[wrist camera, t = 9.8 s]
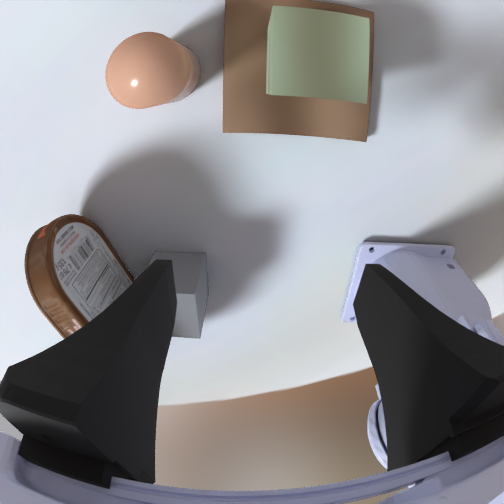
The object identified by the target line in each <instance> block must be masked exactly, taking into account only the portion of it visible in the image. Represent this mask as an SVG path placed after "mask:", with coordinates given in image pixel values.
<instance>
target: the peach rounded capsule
mask: <svg viewBox="0 0 504 504" xmlns="http://www.w3.org/2000/svg"><path fill="white" fill-rule="evenodd" d="M200 73H201V69H200V63H199V60H198V58H197V57H196V55H195V54H194V53H193V52H192V51H191V50H190V49H188V48H186V47H185V46H183V45H181V44H179V43H177V42H176V41H174V40H172V39H170V38H168V37H166V36H164V35H162V34H159V33H155V32H143V33H138V34H135V35H133V36H131V37H129V38H127V39H125V40H124V41H123V42H121V43H120V44H119V45H118V46H117V47H116V48H115V50H114V51H113V53H112V54H111V56H110V58H109V60H108V63H107V67H106V84H107V87H108V90H109V92H110V94H111V95H112V96H113V98H114V99H115V100H116V101H118V102H119V103H120V104H122V105H124V106H126V107H129V108H135V109H143V108H148V107H153V106H158V105H162V104H167V103H172V102H176V101H179V100H182V99H183V98H185V97H187V96H188V95H189V94H190V93H191V92H192V91H193V90H194V89H195V87H196V86H197V84H198V82H199V79H200Z"/></svg>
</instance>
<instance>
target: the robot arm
mask: <svg viewBox="0 0 504 504" xmlns="http://www.w3.org/2000/svg"><path fill="white" fill-rule="evenodd" d="M371 247H374V248H373V249H372V250H369V249H370V248H371ZM442 250H443V251H442ZM441 251H442V252H441ZM455 251H456V250H455V248H454V247H453V246H451V245H432V244H410V243H387V242H363V243H361V244H360V246H359V249H358V253H357V258H356V262H355V266H354V271H353V275H352V279H351V283H350V287H349V291H348V294H347V298H346V302H345V306H344V309H343V313H342V321H343V322H357V324H358V328H359V330H360V333H361V336H362V338H363V341H364V344H365V346H366V349H367V352H368V354H369V357H370V360H371V363H372V365H373V368H374V371H375V374H376V378H377V381H378V384H377V385H376V386H375V387H376V390H377V394H378V397H379V400H378V401H376V402H375V403H374V404H373V405H372V406H371V408H370V410H369V415H368V427H367V428H368V437H369V442H370V445H371V447H372V450H373V452H374V454H375V456H376V457H377V459H378V460H379V462H380V463H381V464H382V465H383V466H384V467H385V468H386V469H387V472H384V473H380V474H376V475H372V476H368V477H364V478H359V479H354V480H349V481H343V482H338V483H332V484H326V485H319V486H311V487H303V488H293V489H281V490H262V491H218V490H199V489H187V488H177V487H169V486H161V485H154V484H153V483H155V436H156V420H157V407H158V398H159V389H160V383H161V377H162V373H163V369H164V365H165V361H166V357H167V353H168V349H169V345H170V341H171V337H172V333H173V329H174V324H175V317H176V310H177V296H176V289H175V281H174V273H173V265H172V260H163V259H156V260H155V261H154V262H153V263H152V264H150V265H149V266H148V268H147V269H146V270H145V271H144V272H143V273H142V274H141V275H140V276H139V277H138V278H137V279H136V280H135V281H134V282H133V283H132V284H131V285H130V286H129V287H128V288H127V289H126V290H125V291H124V292H123V293H122V294H121V295H120V296H119V297H118V298H117V299H116V300H115V301H113V302H112V303H111V304H110V305H109V306H108V307H107V308H106V309H105V310H104V311H102V312H101V313H100V314H99V315H97V316H96V317H95V318H94V319H92V320H91V321H90V322H88V323H87V324H86V325H84V326H83V327H82V328H80V329H79V330H77V331H76V332H74V333H73V334H71V335H70V336H68V337H67V338H65V339H64V340H62V341H60V342H59V343H57V344H55V345H53V346H52V347H50V348H48V349H46V350H44V351H42V352H41V353H39V354H37V355H35V356H33V357H30V358H28V359H26V360H23V361H21V362H19V363H17V364H14V365H12V366H9V367H8V369H7V371H6V373H5V375H4V377H3V379H2V381H1V384H0V413H1V414H2V415H3V416H4V417H5V418H6V419H7V420H8V421H9V422H10V423H11V424H12V425H13V426H14V427H16V428H17V429H18V430H19V431H20V432H21V433H22V434H23V438H22V441H19V440H17V439H16V438H14V437H12V436H10V435H8V434H6V433H4V432H2V431H0V504H343V503H348V502H353V501H358V500H362V499H366V498H370V497H374V496H377V495H382V494H385V493H388V492H392V491H395V490H398V489H401V488H404V487H409V489H406V490H404V491H401V492H398V493H395V494H394V495H392V496H391V497H389V498H387V499H385V500H383V501H381V502H379V503H376V504H504V337H503V335H502V334H501V332H500V331H499V329H498V328H497V327H496V325H495V324H494V322H493V321H492V317H491V311H490V307H489V304H488V302H487V300H486V298H485V296H484V295H483V294H482V292H481V291H480V290H479V289H478V287H477V286H476V285H475V284H474V282H473V281H472V280H471V279H470V278H469V276H468V275H467V274H466V273H465V272H464V270H463V269H462V268H461V267H460V266H459V265H458V263H457V262H456V261H455V260H454V259H453V257H454V254H455ZM353 316H354V317H353ZM351 317H352V318H351Z"/></svg>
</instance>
